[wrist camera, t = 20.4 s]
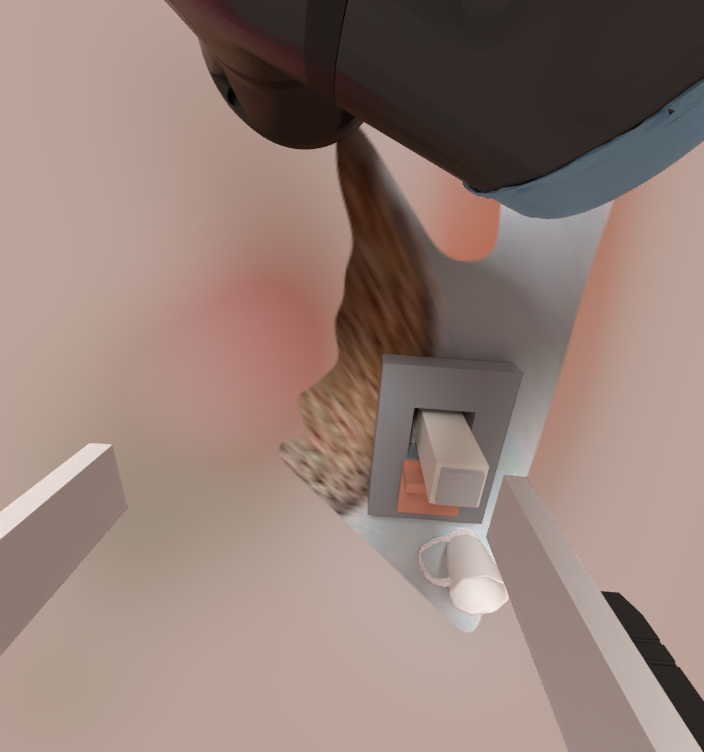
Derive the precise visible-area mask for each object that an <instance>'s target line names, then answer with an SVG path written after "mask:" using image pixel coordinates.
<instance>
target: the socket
mask: <svg viewBox="0 0 704 752" xmlns="http://www.w3.org/2000/svg"><path fill="white" fill-rule="evenodd" d="M522 374H523V373H522V372H520V371H519V370H518V369H517V368H516V367H515V366H514V365H513V364H512V363H505V362H491V361H477V360H464V359H450V358H436V357H423V356H409V355H395V354H382V362H381V372H380V381H379V391H378V401H377V411H376V421H375V430H374V440H373V450H372V460H371V470H370V480H369V489H368V515H379V516H391V517H404V518H416V519H429V520H441V521H454V522H466V523H479V524H482V520H483V516H484V513H485V509H486V505H487V502H488V498H489V495H490V491H491V487H492V484H493V480H494V476H495V473H496V469H497V465H498V462H499V458H500V454H501V451H502V447H503V444H504V440H505V436H506V433H507V429H508V425H509V422H510V418H511V414H512V411H513V407H514V403H515V400H516V396H517V393H518V389H519V385H520V382H521V378H522ZM414 408H425V409H438V410H452V411H465V412H466V413H465V417H464V418H465V420H466V422H467V424H468V426H469V428H470V430H471V432H472V434H473V436H474V438H475V440H476V442H477V444H478V446H479V448H480V450H481V452H482V453H483V455H484V457H485V459H486V461H487V463H488V465H489V470H488V473H487V477H486V481H485V485H484V488H483V492H482V496H481V500H480V504H479V507H477V508H473V507H461V506H460V507H459V511H458V516H457V517H456V516H444V515H431V514H419V513H406V512H397V502H398V495H399V488H400V481H401V474H402V468H403V461H404V459H410V460H419V455H418V451H417V446H416V444H409V440H410V434H411V427H412V420H413V414H414Z"/></svg>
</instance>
